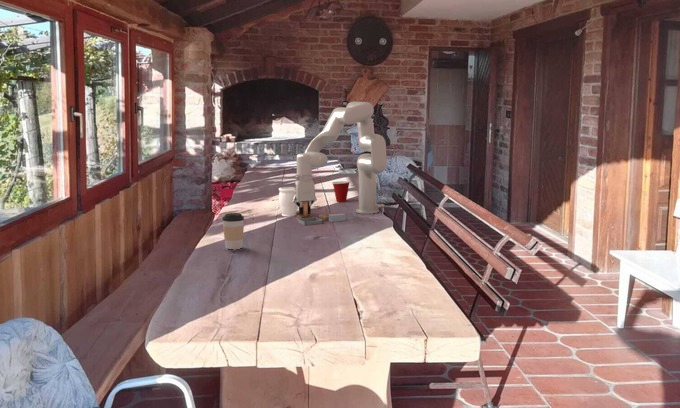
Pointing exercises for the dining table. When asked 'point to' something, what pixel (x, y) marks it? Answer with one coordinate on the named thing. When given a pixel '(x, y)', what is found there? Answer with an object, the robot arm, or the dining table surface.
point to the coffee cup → (233, 230)
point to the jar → (287, 201)
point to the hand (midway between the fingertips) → (304, 213)
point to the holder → (304, 216)
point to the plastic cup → (341, 190)
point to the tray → (310, 221)
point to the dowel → (305, 208)
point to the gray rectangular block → (337, 217)
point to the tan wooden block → (324, 217)
